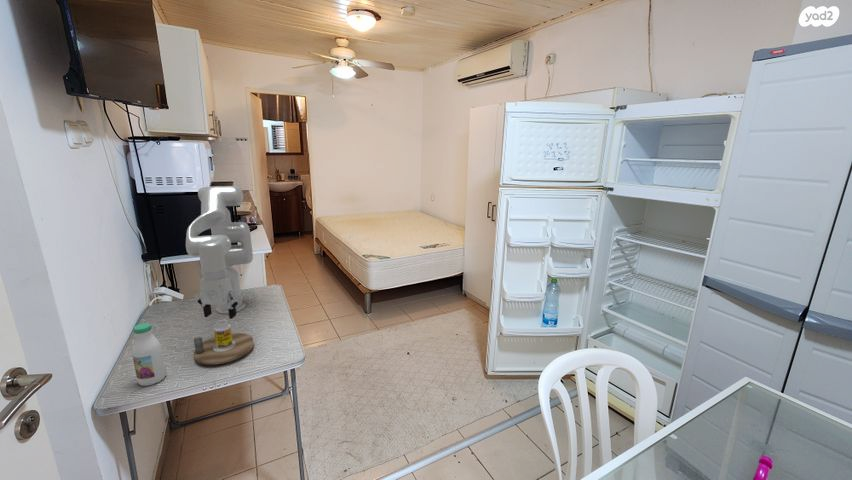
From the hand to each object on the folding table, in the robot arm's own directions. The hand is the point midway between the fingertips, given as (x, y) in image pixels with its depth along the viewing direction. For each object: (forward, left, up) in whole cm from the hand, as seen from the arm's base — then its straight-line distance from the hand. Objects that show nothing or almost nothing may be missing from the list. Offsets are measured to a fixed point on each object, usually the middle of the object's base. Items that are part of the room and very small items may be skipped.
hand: (220, 316), depth 133 cm
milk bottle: (+19, -14, -15) cm, 28 cm away
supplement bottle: (0, 0, -12) cm, 12 cm away
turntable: (+1, 0, -14) cm, 14 cm away
